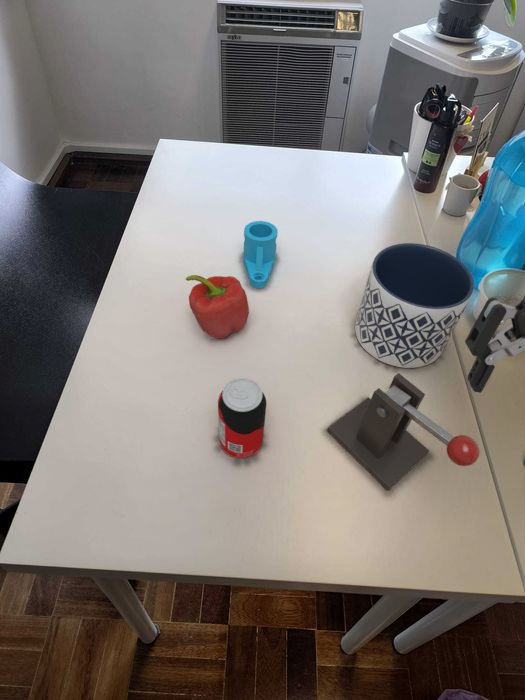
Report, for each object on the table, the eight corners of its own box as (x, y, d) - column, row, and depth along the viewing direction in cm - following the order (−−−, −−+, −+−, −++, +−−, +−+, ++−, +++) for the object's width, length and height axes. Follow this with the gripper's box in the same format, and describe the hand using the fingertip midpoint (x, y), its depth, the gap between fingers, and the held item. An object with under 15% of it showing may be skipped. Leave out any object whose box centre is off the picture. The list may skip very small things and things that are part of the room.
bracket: (275, 251, 99) (277, 221, 93) (274, 289, 91) (277, 259, 85) (244, 249, 99) (244, 220, 93) (241, 287, 91) (241, 258, 85)
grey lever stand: (427, 454, 69) (459, 405, 59) (387, 491, 65) (414, 445, 55) (366, 401, 75) (386, 348, 65) (326, 431, 71) (341, 380, 61)
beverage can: (255, 466, 66) (259, 420, 57) (213, 454, 67) (210, 407, 58) (267, 429, 70) (272, 381, 61) (227, 418, 71) (226, 369, 62)
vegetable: (178, 336, 82) (172, 293, 74) (201, 298, 88) (198, 255, 81) (237, 353, 80) (237, 311, 72) (256, 312, 86) (258, 270, 79)
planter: (445, 316, 88) (475, 255, 77) (440, 380, 78) (474, 320, 67) (362, 296, 91) (379, 234, 80) (346, 355, 81) (364, 293, 70)
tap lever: (480, 460, 57) (489, 443, 54) (463, 477, 55) (472, 460, 53) (393, 396, 64) (398, 378, 62) (376, 410, 63) (380, 392, 60)
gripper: (532, 258, 42) (459, 402, 50) (685, 293, 42) (588, 431, 50) (502, 235, 48) (442, 366, 56) (635, 265, 49) (556, 392, 57)
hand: (511, 396), depth 53 cm, fingers open, 8 cm apart
